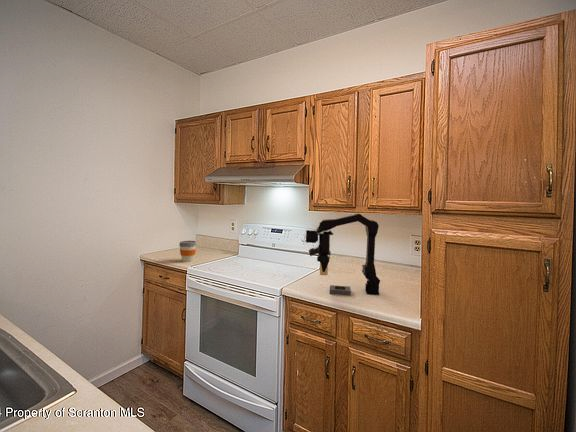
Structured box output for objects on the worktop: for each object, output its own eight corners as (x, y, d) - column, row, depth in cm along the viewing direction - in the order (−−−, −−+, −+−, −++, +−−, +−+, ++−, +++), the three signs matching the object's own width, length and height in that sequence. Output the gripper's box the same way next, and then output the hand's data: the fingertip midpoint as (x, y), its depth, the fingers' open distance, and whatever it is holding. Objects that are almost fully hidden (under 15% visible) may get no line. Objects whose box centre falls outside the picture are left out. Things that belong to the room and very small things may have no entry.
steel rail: (350, 291, 160) (350, 286, 160) (350, 295, 153) (350, 291, 153) (330, 289, 163) (330, 285, 162) (329, 294, 155) (329, 289, 155)
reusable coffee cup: (183, 263, 219) (183, 243, 217) (177, 260, 228) (176, 241, 227) (199, 261, 227) (198, 242, 226) (192, 258, 236) (192, 240, 235)
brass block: (327, 273, 160) (327, 261, 160) (327, 275, 156) (327, 262, 156) (320, 273, 161) (320, 260, 161) (319, 274, 157) (320, 262, 157)
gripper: (311, 239, 168) (311, 266, 169) (307, 245, 150) (307, 274, 151) (330, 240, 166) (330, 267, 167) (329, 246, 148) (328, 275, 149)
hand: (324, 270), depth 159 cm, fingers closed on brass block, 4 cm apart
